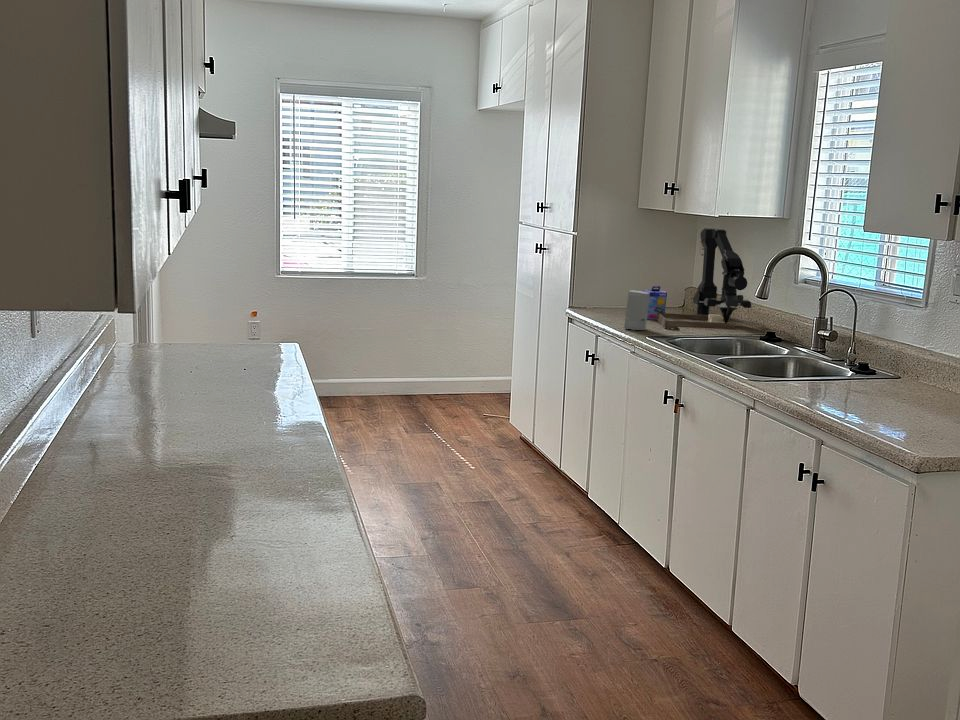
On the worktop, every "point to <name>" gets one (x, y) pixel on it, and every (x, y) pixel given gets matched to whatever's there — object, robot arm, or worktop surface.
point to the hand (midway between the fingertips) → (725, 323)
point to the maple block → (715, 318)
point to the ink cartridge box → (656, 302)
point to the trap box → (689, 321)
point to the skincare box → (636, 310)
